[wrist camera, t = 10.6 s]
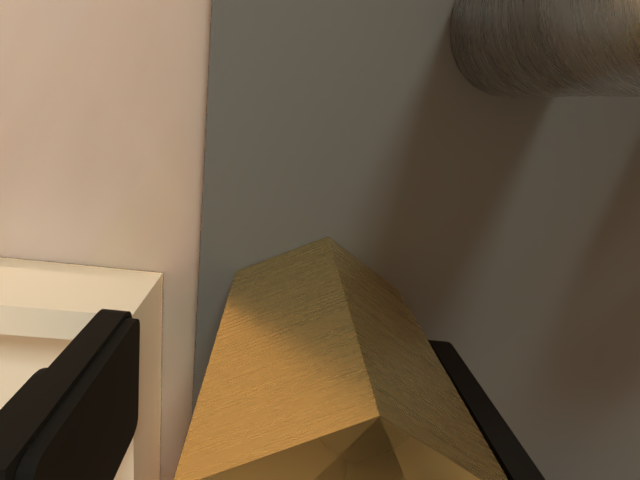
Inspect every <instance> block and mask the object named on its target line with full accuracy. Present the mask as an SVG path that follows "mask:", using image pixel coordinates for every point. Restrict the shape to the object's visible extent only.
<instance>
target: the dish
mask: <svg viewBox="0 0 640 480" xmlns="http://www.w3.org/2000/svg"><path fill="white" fill-rule="evenodd" d="M162 299H163V273H157V272H147V271H137V270H126V269H116V268H106V267H96V266H85V265H75V264H65V263H55V262H45V261H34V260H24V259H14V258H4V257H0V409H1V408H2V407H3V406H4V405H5V404H6V403H7V402H8V401H9V400H10V399H11V398H12V396H13V395H14V394H15V393H16V392H17V391H18V390H19V389H20V388H21V387H22V386H23V385H24V384H25V383H26V382H27V380H28V379H29V378H30V377H31V376H32V375H33V374H34V373H35V372H37V371H38V370H39V369H42V368H48V367H49V366H50V365H51V363H52V362H53V361H54V360H55V359H56V358H57V357H58V356H59V355H60V353H61V352H62V351H63V350H64V349H65V348H66V347H67V346H68V345H69V344H70V342H71V341H72V340H73V339H74V338H75V337H76V336H77V335H78V334H79V332H80V331H81V330H82V329H83V328H84V327H85V326H86V325H87V324H88V323H89V321H90V320H91V319H92V318H93V317H94V316H95V315H96V314H97V313H98V311H100V310H101V309H111V310H122V311H130V312H131V314H132V318H135V319H139V321H140V354H139V407H138V423H137V427H136V431H135V434H134V436H133V438H132V441H131V443H130V445H129V447H128V449H127V452H126V454H125V456H124V458H123V460H122V462H121V465H120V467H119V469H118V471H117V473H116V476H115V478H114V480H160V428H161V363H162Z"/></svg>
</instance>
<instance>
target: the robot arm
mask: <svg viewBox="0 0 640 480" xmlns="http://www.w3.org/2000/svg"><path fill="white" fill-rule="evenodd" d="M428 342H429V343H430V345H431V347H432V349H433V350H434V352H435V354H436V356H437V357H438V359H439V361H440V362H441V364H442V366H443V368H444V369H445V371H446V373H447V375H448V376H449V378H450V380H451V382H452V383H453V385H454V387H455V388H456V390H457V392H458V394H459V395H460V397H461V399H462V401H463V402H464V404H465V406H466V408H467V409H468V411H469V413H470V414H471V416H472V418H473V420H474V421H475V423H476V425H477V427H478V428H479V430H480V432H481V434H482V435H483V437H484V439H485V440H486V442H487V444H488V446H489V447H490V449H491V451H492V453H493V454H494V456H495V458H496V460H497V461H498V463H499V465H500V466H501V468H502V470H503V472H504V473H505V475H506V477H507V479H508V480H545V478H544V477H543V475H542V474H541V472H540V471H539V470H538V468H537V467H536V465H535V464H534V462H533V461H532V459H531V458H530V456H529V455H528V454H527V452H526V451H525V449H524V448H523V446H522V445H521V443H520V442H519V441H518V439H517V438H516V436H515V435H514V433H513V432H512V430H511V429H510V428H509V426H508V425H507V423H506V422H505V420H504V419H503V417H502V416H501V415H500V413H499V412H498V410H497V409H496V407H495V406H494V404H493V403H492V402H491V400H490V399H489V397H488V396H487V394H486V393H485V391H484V390H483V388H482V387H481V386H480V384H479V383H478V381H477V380H476V378H475V377H474V375H473V374H472V373H471V371H470V370H469V368H468V367H467V365H466V364H465V362H464V361H463V360H462V358H461V357H460V355H459V354H458V352H457V351H456V349H455V348H454V347H453V345H452V344H451V343H450V342H447V341H436V340H428ZM139 354H140V321H139V319H135V318H132V314H131V312H130V311H122V310H111V309H101V310H100V311H98V313H97V314H96V315H95V316H94V317H93V318H92V319H91V320H90V321H89V323H88V324H87V325H86V326H85V327H84V328H83V329H82V330H81V331H80V332H79V334H78V335H77V336H76V337H75V338H74V339H73V340H72V341H71V342H70V344H69V345H68V346H67V347H66V348H65V349H64V350H63V351H62V352H61V353H60V355H59V356H58V357H57V358H56V359H55V360H54V361H53V362H52V363H51V365H50V366H49V367H48V368H42V369H39V370H38V371H37V372H35V373H34V374H33V375H32V376H31V377H30V378H29V379H28V380H27V382H26V383H25V384H24V385H23V386H22V387H21V388H20V389H19V390H18V391H17V392H16V393H15V394H14V395H13V396H12V398H11V399H10V400H9V401H8V402H7V403H6V404H5V405H4V406H3V407H2V408H1V409H0V480H114V478H115V476H116V473H117V471H118V469H119V467H120V465H121V462H122V460H123V458H124V456H125V454H126V452H127V449H128V447H129V445H130V443H131V441H132V438H133V436H134V434H135V431H136V427H137V423H138V407H139Z"/></svg>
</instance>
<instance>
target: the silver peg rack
mask: <svg viewBox="0 0 640 480" xmlns="http://www.w3.org/2000/svg"><path fill="white" fill-rule="evenodd" d="M449 38H450V46H451V52H452V55H453V58H454V61H455V63H456V65H457V67H458V69H459V71H460V72H461V74H462V75H463V76H464V78H465V79H466V80H467V81H468V82H469V83H470V84H471V85H473V86H474V87H475V88H477V89H478V90H480V91H482V92H484V93H487V94H489V95H493V96H498V97H640V0H455V1H454V4H453V8H452V12H451V17H450V25H449Z"/></svg>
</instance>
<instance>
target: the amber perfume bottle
mask: <svg viewBox="0 0 640 480" xmlns="http://www.w3.org/2000/svg"><path fill="white" fill-rule="evenodd" d="M174 480H508V479H507V477H506V475H505V473H504V472H503V470H502V468H501V466H500V465H499V463H498V461H497V460H496V458H495V456H494V454H493V453H492V451H491V449H490V447H489V446H488V444H487V442H486V440H485V439H484V437H483V435H482V434H481V432H480V430H479V428H478V427H477V425H476V423H475V421H474V420H473V418H472V416H471V414H470V413H469V411H468V409H467V408H466V406H465V404H464V402H463V401H462V399H461V397H460V395H459V394H458V392H457V390H456V388H455V387H454V385H453V383H452V382H451V380H450V378H449V376H448V375H447V373H446V371H445V369H444V368H443V366H442V364H441V362H440V361H439V359H438V357H437V356H436V354H435V352H434V350H433V349H432V347H431V345H430V343H429V342H428V340H427V338H426V336H425V335H424V333H423V331H422V330H421V328H420V326H419V324H418V323H417V321H416V319H415V317H414V316H413V314H412V312H411V310H410V309H409V307H408V305H407V304H406V302H405V300H404V298H403V297H402V295H401V293H400V291H399V290H398V289H396V288H395V287H394V286H392V285H391V284H390V283H388V282H387V281H386V280H384V279H383V278H382V277H381V276H379V275H378V274H377V273H375V272H374V271H373V270H371V269H370V268H369V267H367V266H366V265H365V264H363V263H362V262H361V261H360V260H358V259H357V258H356V257H354V256H353V255H352V254H350V253H349V252H348V251H346V250H345V249H344V248H342V247H341V246H340V245H339V244H337V243H336V242H335V241H333V240H332V239H331V238H329V237H325V238H322V239H320V240H317V241H314V242H312V243H309V244H306V245H304V246H301V247H298V248H296V249H293V250H291V251H288V252H285V253H283V254H280V255H277V256H275V257H272V258H269V259H267V260H264V261H261V262H259V263H256V264H254V265H251V266H248V267H246V268H243V269H240V270H238V271H236V272H235V276H234V279H233V282H232V286H231V289H230V292H229V296H228V299H227V302H226V306H225V309H224V312H223V316H222V319H221V323H220V326H219V329H218V333H217V336H216V339H215V343H214V346H213V349H212V353H211V356H210V359H209V363H208V366H207V369H206V373H205V376H204V380H203V383H202V386H201V390H200V393H199V396H198V400H197V403H196V406H195V410H194V413H193V416H192V420H191V423H190V426H189V430H188V433H187V437H186V440H185V443H184V447H183V450H182V453H181V457H180V460H179V463H178V467H177V470H176V473H175V477H174Z"/></svg>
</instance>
